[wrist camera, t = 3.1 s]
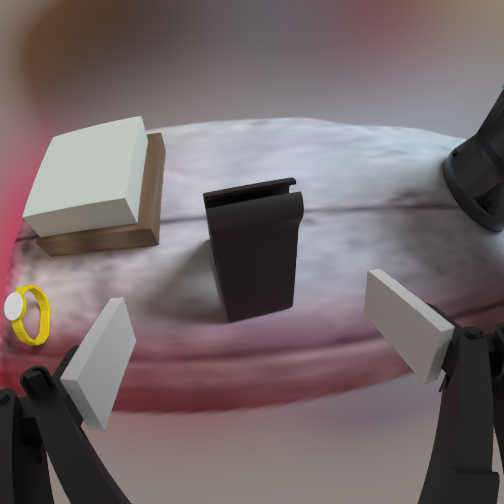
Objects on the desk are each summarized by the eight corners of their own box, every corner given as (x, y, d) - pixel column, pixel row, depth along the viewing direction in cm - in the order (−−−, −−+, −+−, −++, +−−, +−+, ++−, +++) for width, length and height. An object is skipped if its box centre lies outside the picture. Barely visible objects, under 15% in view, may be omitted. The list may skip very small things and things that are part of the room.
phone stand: (209, 238, 30) (195, 152, 19) (266, 226, 31) (277, 140, 20) (228, 323, 26) (218, 270, 15) (291, 307, 27) (324, 247, 16)
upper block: (148, 141, 32) (141, 116, 29) (137, 223, 27) (124, 197, 23) (64, 158, 31) (53, 137, 28) (40, 237, 26) (22, 217, 22)
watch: (56, 348, 24) (21, 340, 19) (37, 348, 24) (2, 339, 18) (56, 293, 26) (24, 275, 21) (38, 295, 26) (6, 278, 21)
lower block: (166, 154, 36) (161, 132, 33) (160, 247, 30) (150, 228, 27) (75, 170, 35) (65, 152, 32) (53, 258, 29) (36, 242, 25)
